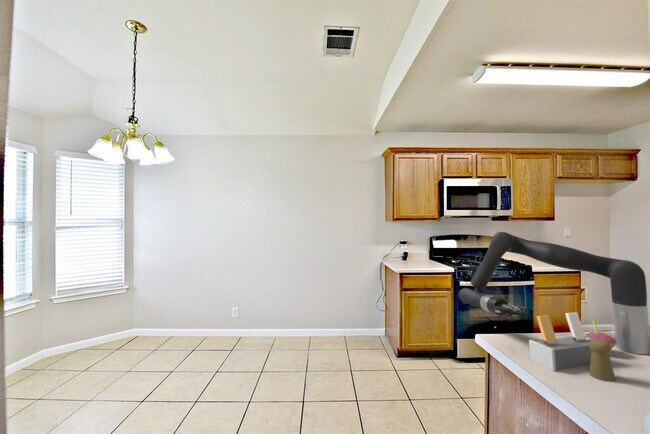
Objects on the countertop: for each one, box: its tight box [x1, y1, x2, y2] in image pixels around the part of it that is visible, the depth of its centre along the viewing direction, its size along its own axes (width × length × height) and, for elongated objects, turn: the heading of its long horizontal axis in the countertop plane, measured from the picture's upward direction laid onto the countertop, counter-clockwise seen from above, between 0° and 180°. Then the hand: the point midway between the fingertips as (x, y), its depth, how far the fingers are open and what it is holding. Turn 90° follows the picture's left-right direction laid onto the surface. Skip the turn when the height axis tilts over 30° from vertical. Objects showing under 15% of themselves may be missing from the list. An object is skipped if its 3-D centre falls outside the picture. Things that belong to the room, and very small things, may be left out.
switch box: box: [528, 336, 593, 372], centre depth 104 cm, size 21×9×7 cm, turn 99°
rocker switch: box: [564, 311, 586, 340], centre depth 106 cm, size 4×1×9 cm, turn 99°
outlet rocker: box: [536, 314, 557, 344], centre depth 104 cm, size 4×1×9 cm, turn 99°
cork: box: [589, 340, 616, 383], centre depth 93 cm, size 6×6×11 cm
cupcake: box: [585, 319, 617, 356], centre depth 110 cm, size 9×8×12 cm
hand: (526, 315), depth 113 cm, fingers closed
